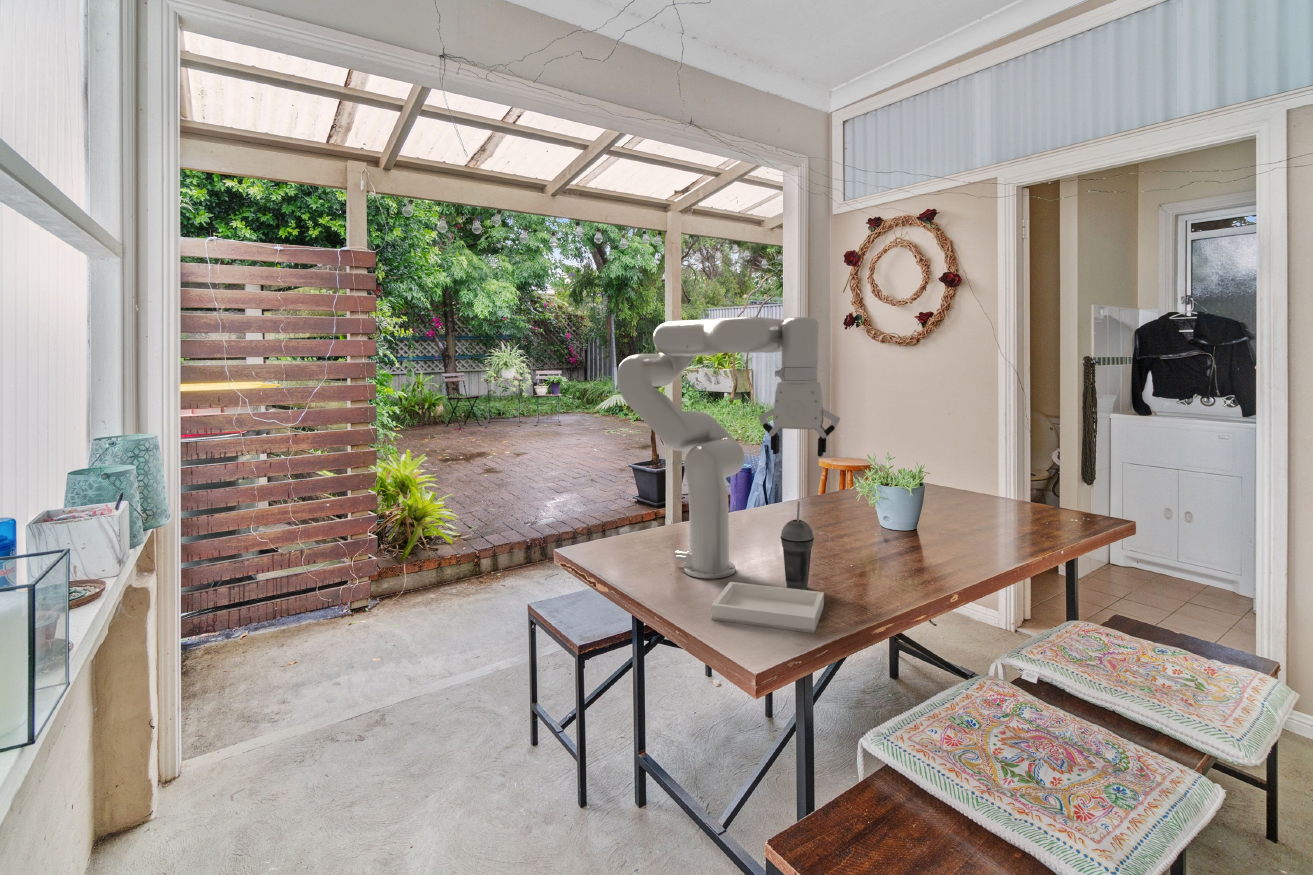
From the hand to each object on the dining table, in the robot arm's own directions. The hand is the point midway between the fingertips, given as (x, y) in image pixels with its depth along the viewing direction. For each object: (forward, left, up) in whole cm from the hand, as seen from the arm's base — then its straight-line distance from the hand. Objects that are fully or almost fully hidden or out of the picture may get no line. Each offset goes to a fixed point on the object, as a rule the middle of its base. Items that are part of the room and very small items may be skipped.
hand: (797, 454), depth 137 cm
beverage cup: (0, +1, -31) cm, 31 cm away
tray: (-3, -15, -30) cm, 34 cm away
